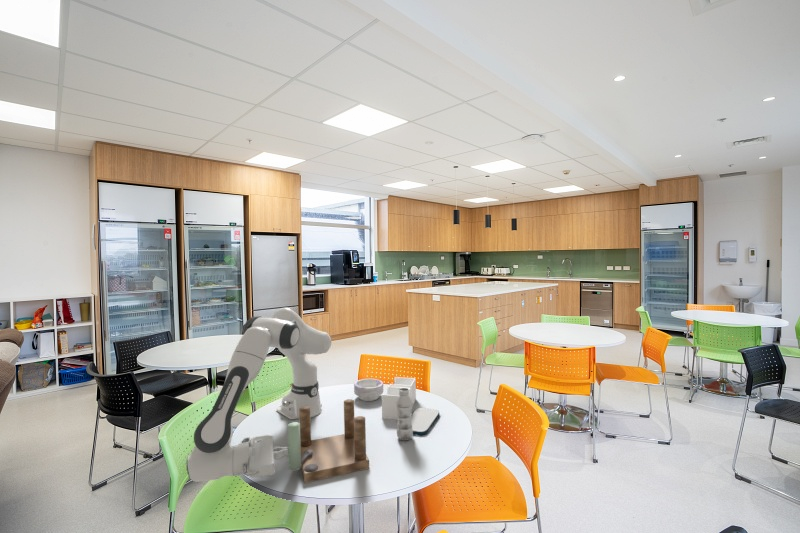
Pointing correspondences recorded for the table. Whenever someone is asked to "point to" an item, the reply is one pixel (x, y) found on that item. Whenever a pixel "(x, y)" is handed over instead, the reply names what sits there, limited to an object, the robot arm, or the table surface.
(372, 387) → the light grey bowl
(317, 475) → the stool
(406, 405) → the plastic bottle
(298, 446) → the green piece
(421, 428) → the external hard drive
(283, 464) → the table surface
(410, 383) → the storage container
